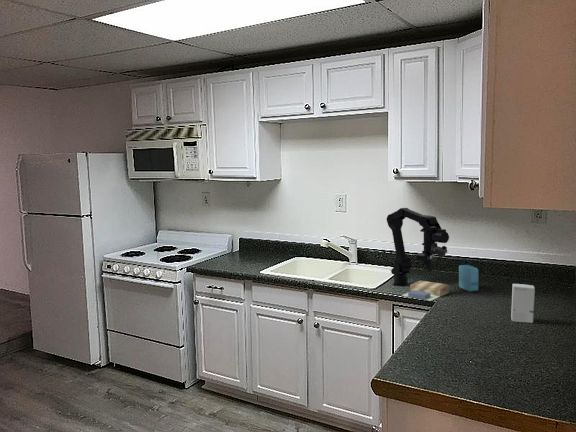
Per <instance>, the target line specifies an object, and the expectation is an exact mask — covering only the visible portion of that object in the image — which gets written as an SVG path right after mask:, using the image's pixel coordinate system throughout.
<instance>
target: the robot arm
mask: <svg viewBox="0 0 576 432" xmlns="http://www.w3.org/2000/svg"><path fill="white" fill-rule="evenodd" d="M406 218H407V219H409V220H412V221H414V222H416V223H418V224H419V226H421V227H422V228H421V229H420V232H422V233H423V242H422V243H421V245H422V246H423V250H422V251H421V252H419V253H416V255H415V260H419V261H422V262H423V263H424V266H425V267H426V270H427V271H428V272H431V271H432V268H433V265H434V262H435V261H436V260H437V259H438V258H439V257H440V258H443V257H445V256H446V254H447V253H448V247H447V246H445V245H442V246H438V243H439V244H440V243H441V244H446V243H448V242H449V240H450V235H449V233H448V232H447V229H445V228H442V227H441V225H440V223H439V221H438V219H437V217H436V216H433V215H426V214H422V213H420V212H418V211H414V210H412V209H410V208H408V207H401V208H399V209H397V210H396V211H393V212H392V213H391V214H390V213H389V214H388V215H387V216H386V224H387V226H388V227H389V228H390V229H391V232H392V238H393V244H394V250H395V256H396V257H395V260H394V266H393V268H392V269H391V270H390V272H391V274H392V275H393V283H392V286H396V287H398V286H399V287H405V286H407V285H409V283H408V279H409V277H408V274H410V271H411V269H412V262H411V257H408V256H407V255H406V250H405V244H404V243H405V242H404V239H403V232H402V228H403V224H404V220H405V219H406ZM436 256H438V257H436Z"/></svg>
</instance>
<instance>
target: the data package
mask: <svg viewBox="0 0 576 432" xmlns="http://www.w3.org/2000/svg"><path fill="white" fill-rule="evenodd" d="M458 287H459V288H460V289H463V290H465V291H467V292H469V293H470V292H477V291H479V269H478V268H477V267H475V266H472V265H469V264H461V265H458Z"/></svg>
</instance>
